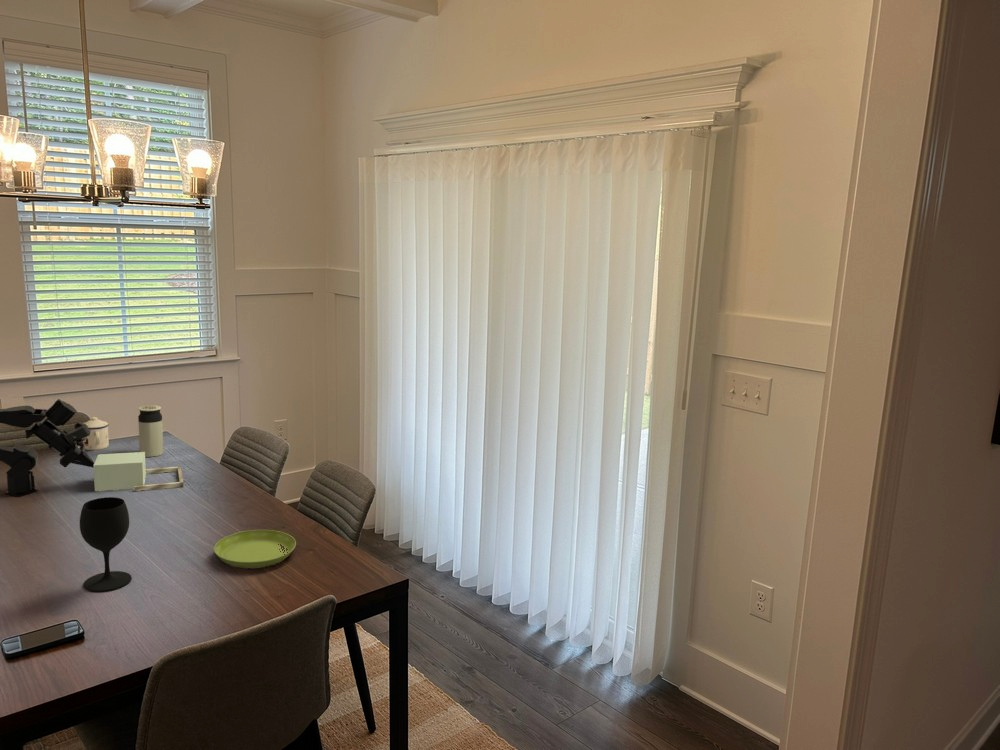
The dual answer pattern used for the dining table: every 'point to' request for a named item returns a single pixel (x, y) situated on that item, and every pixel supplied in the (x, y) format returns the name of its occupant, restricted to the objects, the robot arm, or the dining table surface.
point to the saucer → (254, 548)
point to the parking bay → (164, 485)
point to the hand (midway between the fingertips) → (94, 466)
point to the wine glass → (105, 538)
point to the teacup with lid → (96, 435)
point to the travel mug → (150, 430)
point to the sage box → (119, 471)
